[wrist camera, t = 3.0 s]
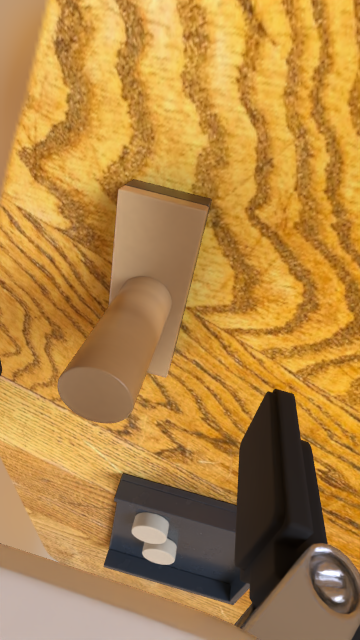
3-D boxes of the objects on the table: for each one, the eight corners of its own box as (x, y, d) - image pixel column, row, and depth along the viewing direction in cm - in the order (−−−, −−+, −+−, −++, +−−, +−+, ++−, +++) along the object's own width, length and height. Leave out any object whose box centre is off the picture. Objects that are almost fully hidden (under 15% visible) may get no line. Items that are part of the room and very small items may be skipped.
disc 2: (143, 545, 33) (140, 559, 32) (147, 531, 31) (144, 546, 30) (173, 554, 32) (171, 568, 31) (179, 541, 31) (177, 555, 30)
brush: (116, 339, 19) (46, 462, 12) (133, 178, 14) (28, 244, 7) (173, 354, 19) (133, 488, 12) (212, 198, 14) (179, 283, 7)
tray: (110, 544, 35) (103, 567, 34) (122, 472, 27) (114, 497, 25) (233, 580, 35) (233, 605, 33) (286, 519, 26) (289, 548, 25)
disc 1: (133, 523, 30) (129, 537, 29) (137, 508, 28) (133, 522, 27) (166, 533, 30) (163, 547, 29) (172, 518, 28) (169, 533, 27)
